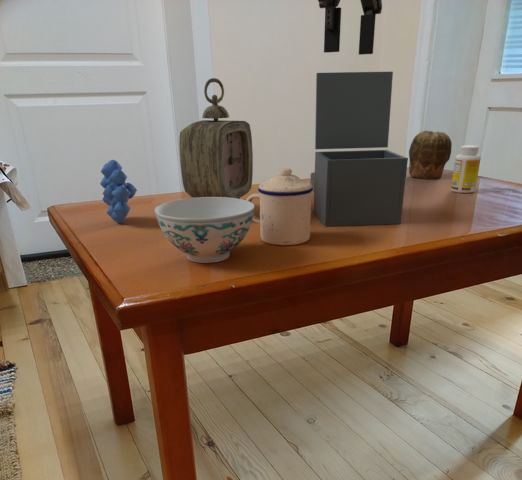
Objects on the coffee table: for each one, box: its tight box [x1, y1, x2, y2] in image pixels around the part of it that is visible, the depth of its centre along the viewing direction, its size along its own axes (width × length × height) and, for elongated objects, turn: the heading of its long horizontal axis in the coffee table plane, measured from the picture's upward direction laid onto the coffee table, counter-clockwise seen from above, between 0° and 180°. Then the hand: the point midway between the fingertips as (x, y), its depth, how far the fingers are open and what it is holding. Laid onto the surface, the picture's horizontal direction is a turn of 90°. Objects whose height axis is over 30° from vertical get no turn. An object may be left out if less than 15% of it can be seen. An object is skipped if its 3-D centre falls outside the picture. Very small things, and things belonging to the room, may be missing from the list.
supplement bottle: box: [450, 144, 482, 194], centre depth 121 cm, size 6×6×10 cm
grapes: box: [99, 159, 138, 224], centre depth 98 cm, size 12×7×12 cm, turn 30°
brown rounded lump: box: [408, 130, 453, 180], centre depth 139 cm, size 11×11×12 cm
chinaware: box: [154, 197, 256, 264], centre depth 78 cm, size 15×15×8 cm
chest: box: [312, 149, 409, 227], centre depth 99 cm, size 13×15×12 cm
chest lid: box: [314, 71, 394, 150], centre depth 100 cm, size 13×15×5 cm
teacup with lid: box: [246, 167, 313, 246], centre depth 86 cm, size 12×9×12 cm
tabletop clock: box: [178, 77, 254, 199], centre depth 100 cm, size 14×9×25 cm, turn 155°
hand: (349, 53), depth 95 cm, fingers open, 13 cm apart
